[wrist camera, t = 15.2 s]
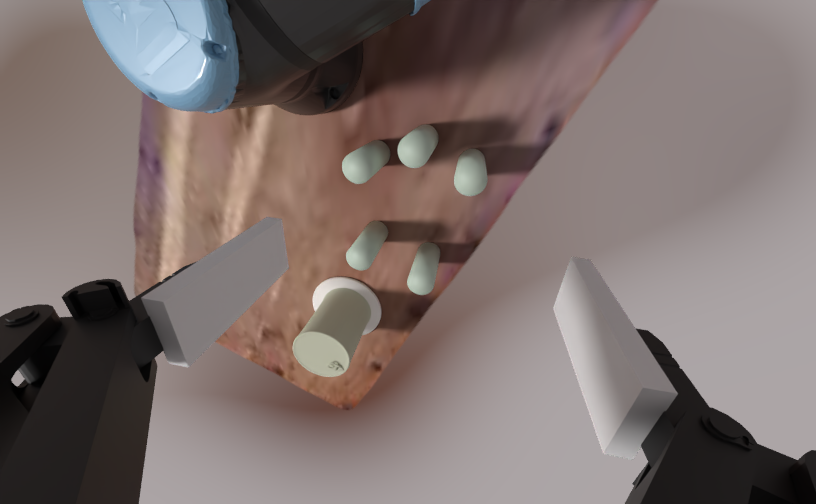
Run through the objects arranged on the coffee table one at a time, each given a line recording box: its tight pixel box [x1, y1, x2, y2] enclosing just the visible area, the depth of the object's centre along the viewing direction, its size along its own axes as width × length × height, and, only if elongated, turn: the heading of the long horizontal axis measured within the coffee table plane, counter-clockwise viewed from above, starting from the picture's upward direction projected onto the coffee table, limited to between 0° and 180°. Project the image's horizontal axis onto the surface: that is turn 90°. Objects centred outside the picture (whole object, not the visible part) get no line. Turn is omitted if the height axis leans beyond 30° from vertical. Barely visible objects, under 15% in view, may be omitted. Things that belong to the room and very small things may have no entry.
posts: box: [342, 124, 487, 295], centre depth 43 cm, size 17×21×9 cm
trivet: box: [313, 276, 382, 335], centre depth 58 cm, size 13×13×1 cm
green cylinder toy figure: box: [293, 288, 371, 377], centre depth 53 cm, size 9×9×12 cm
